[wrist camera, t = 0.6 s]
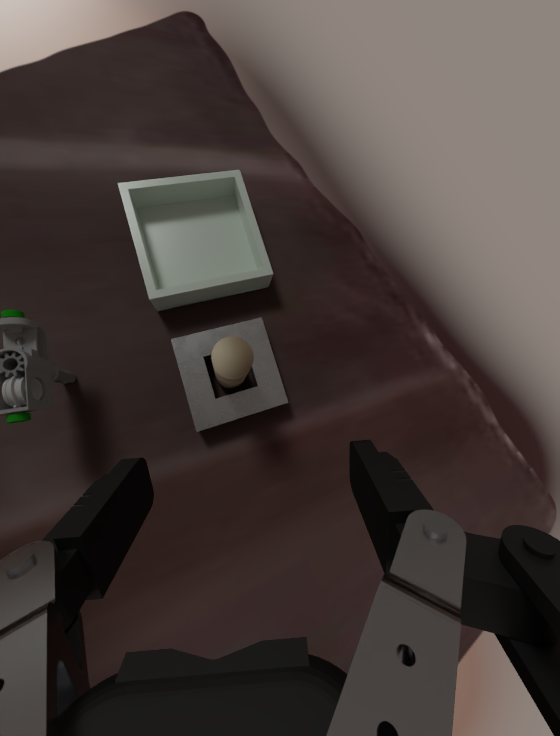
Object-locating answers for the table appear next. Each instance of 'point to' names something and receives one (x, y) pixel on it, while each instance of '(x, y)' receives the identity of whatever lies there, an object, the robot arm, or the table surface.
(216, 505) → the table surface
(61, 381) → the mechanical component
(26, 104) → the table surface
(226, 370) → the dowel
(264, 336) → the socket block
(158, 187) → the tray
